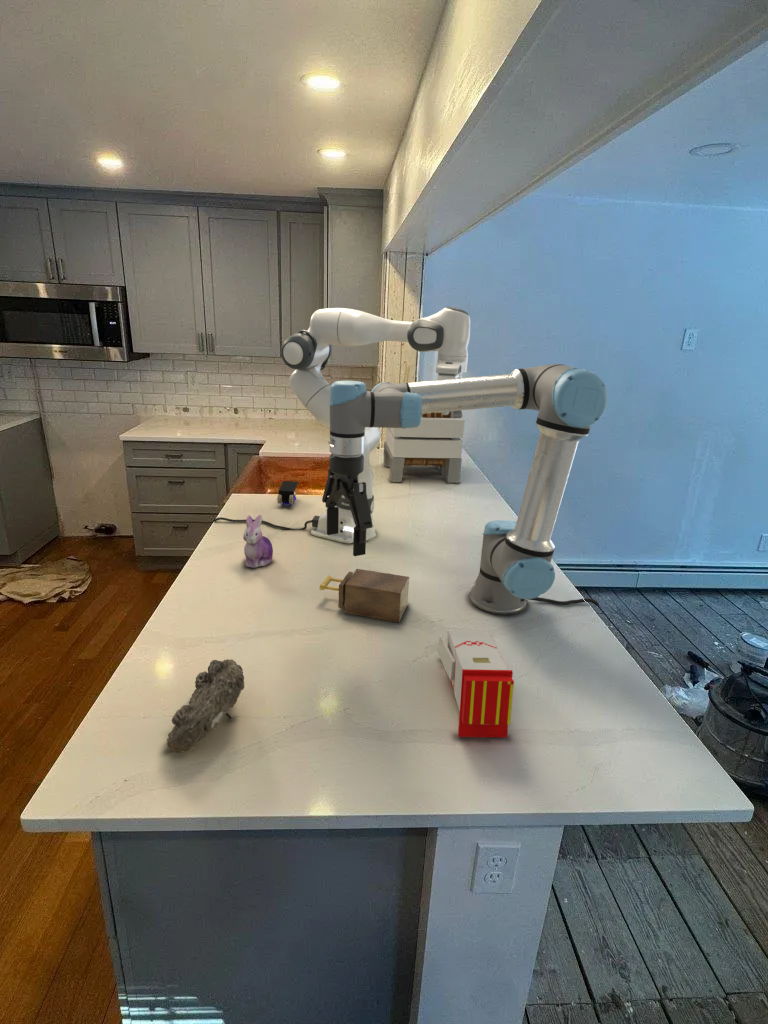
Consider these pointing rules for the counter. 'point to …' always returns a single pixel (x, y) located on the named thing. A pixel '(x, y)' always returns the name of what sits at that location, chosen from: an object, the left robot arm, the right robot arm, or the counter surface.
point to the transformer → (427, 446)
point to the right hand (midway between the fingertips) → (345, 544)
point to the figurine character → (287, 493)
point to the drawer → (341, 588)
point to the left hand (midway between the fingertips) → (448, 412)
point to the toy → (478, 682)
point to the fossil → (206, 705)
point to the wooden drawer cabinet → (376, 595)
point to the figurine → (256, 544)
